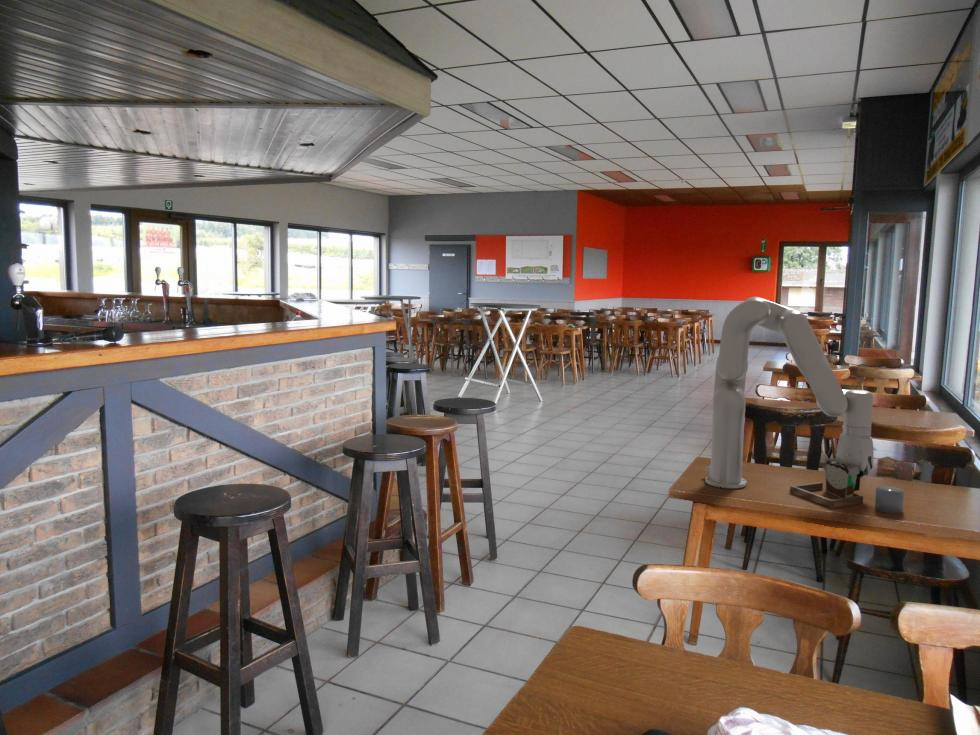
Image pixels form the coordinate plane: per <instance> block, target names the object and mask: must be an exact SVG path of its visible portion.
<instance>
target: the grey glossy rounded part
mask: <svg viewBox="0 0 980 735" xmlns="http://www.w3.org/2000/svg"><path fill="white" fill-rule="evenodd" d="M874 499H875V502H874V509H875V510H876V511H878V512H881V513H885V514H890V515H891V514H892V515H897V514H902V513H903V511H904V502H905V490H904V489H902V488H900V487H897V486H896V487H895V486H891V485H879V486H876V487H875V498H874Z"/></svg>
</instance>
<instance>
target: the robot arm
mask: <svg viewBox="0 0 980 735" xmlns="http://www.w3.org/2000/svg"><path fill="white" fill-rule="evenodd" d="M757 326H759V327H761V328H763V329H764V328H765V329H767V330H769V331H771V332H772V331H773V332H775V333H778V334H780V335H781V338H783V341H784V343H785V345H786V346H787V349H788V352H789V353H790V355H791V357H792V359H793V361H794V363H795V365H796V367H797V368H798V371H799V372H800V373H801V375H802V376H803V377H804V378H805V380H806V382H807V383H808V384H809V387H810V389H811V391H812V393H813V395H814V396H815V400H816V405H817V406H818V407H819V409H820V410H821V411H822V413H823V414H825V415H826V416H828V417H831V418H832V417H833V418H836V417H840V416H842V415H843V424H841V428H842V432H841V433H840V435H839V438H838V442H837V447H836V456H835V459H837V461H838V462H839V463H842V464H845V465H848V466H852V467H857V466H858V468H859V472H860V473H859V474H857V477H856V483H855V489H854V492H856V491H860V486H861V479H862V478H863V477H864V476H871V475H872V470H873V467H874V457H875V455H874V453H875V452H874V441H873V438H872V425H873V424H872V422H873V410H874V409H873V408H874V405H873V404H874V395H873V393H872V392H871V391H868V390H865V389H864V390H863V389H850V390H849V389H842V387H841V385H840V383H839V381H838V379H837V377H836V375H835V373H834V371H833V369H832V367H831V365H830V363H829V360H828V358H827V356H826V354H825V352H824V350H823V348H822V346H821V344H820V342H819V340H818V337H817V336H816V335H815V332H814V330H813V328H812V327H811V324H810V323H809V320H808V318H807V317H806V315H805V314H804V313H803V312H802V311H800V310H797V309H793V308H790V307H787V306H785V305H781V304H778V303H776V302H773V301H770V300H768V299H765V298H762V297H760V296H751V297H748V298H746V299H745V300H744V301H743V302H741V303H739V304H738V305H736V306H735V307H734V308H733V309H732V310H731V311H729V313H728V314H727V316H726V317H725V320H724V321H723V324H722V329H721V335H720V344H719V353H718V356H717V358H716V365H715V374H714V384H713V385H714V387H713V398H712V399H713V400H712V422H711V424H712V428H711V447H710V448H711V454H710V464H709V465H708V466H705V467H704V470H705V471H706V472H708V475H707V476H706V477H705V480H704V481H705V483H706V484H707V485H708V486H712V487H715V488H720V487H721V488H720V489H742V488H744V487H746V486H747V480H746V479H745V478H743V460H744V458H743V456H744V455H743V454H744V453H743V452H744V433H745V418H746V417H745V414H746V407H747V406H746V404H747V403H746V396H745V387H746V379H747V378H746V377H747V372H748V369H749V360H748V357H749V348H750V347H749V346H750V340H751V333H752V332H753V329H754V328H756V327H757Z"/></svg>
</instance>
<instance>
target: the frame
mask: <svg viewBox="0 0 980 735" xmlns="http://www.w3.org/2000/svg"><path fill="white" fill-rule="evenodd" d="M823 486H824V483H823V482H821V481H818V482H812V483H811V482H810V483H804V484H803V483H802V484H797V485H796V484H795V485H790V486H789V487H790V488H789V493H791V494H793V495H797V496H798V497H802V498H803V499H807V500H810V501H811V502H815V503H817V504H820V505H822V506H825V507H828V508H830V507H831V508H830V509H833V508H835V509H836V508H840V507H848V506H854V505H861V504H863V503H864V496H863V495H854V496H853V497H848V498H836V499H831V498H828V497H824V496H822V495H819V494H817V493H814V492H812V491H819V490H823V488H824V487H823Z"/></svg>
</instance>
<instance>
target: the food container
mask: <svg viewBox="0 0 980 735" xmlns="http://www.w3.org/2000/svg"><path fill="white" fill-rule="evenodd" d="M824 466H825V492H827V493H828V494H831V495H833V496H835V497H838V499H841V498H848V497H855V495H854V494H855V491H854V489H855V483H856V477H857V474H859V473H860V472H859V468H858V466H857V467H852V466H848V465H845V464H842V463H839V462H838V461H837V459H836V458H825V460H824Z"/></svg>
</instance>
